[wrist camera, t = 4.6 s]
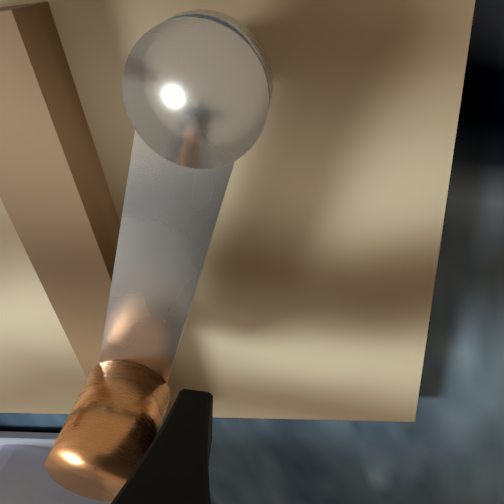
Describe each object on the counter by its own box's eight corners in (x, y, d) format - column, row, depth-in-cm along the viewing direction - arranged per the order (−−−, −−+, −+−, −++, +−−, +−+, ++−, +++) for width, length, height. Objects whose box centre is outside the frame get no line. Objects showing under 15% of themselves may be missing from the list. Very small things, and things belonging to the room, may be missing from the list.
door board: (409, 398, 17) (424, 465, 15) (-24, 391, 19) (-65, 447, 17) (475, -122, 8) (532, -142, 6) (-303, -4, 11) (-448, 10, 9)
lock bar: (173, 396, 13) (139, 511, 11) (95, 374, 13) (39, 485, 10) (292, 37, 8) (281, 92, 5) (153, -13, 7) (61, 16, 5)
